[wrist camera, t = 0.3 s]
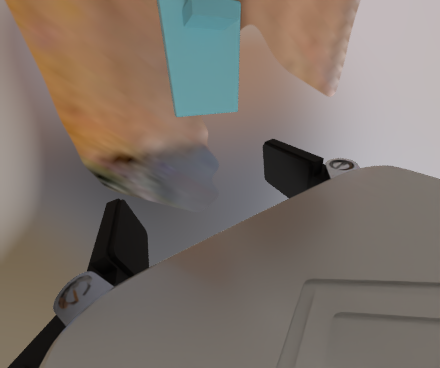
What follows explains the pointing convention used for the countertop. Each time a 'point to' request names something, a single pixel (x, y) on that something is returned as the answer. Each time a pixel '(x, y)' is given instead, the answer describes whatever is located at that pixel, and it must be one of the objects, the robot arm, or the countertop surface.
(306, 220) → the robot arm
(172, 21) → the lid
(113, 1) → the countertop surface
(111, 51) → the countertop surface
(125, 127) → the countertop surface
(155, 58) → the countertop surface
